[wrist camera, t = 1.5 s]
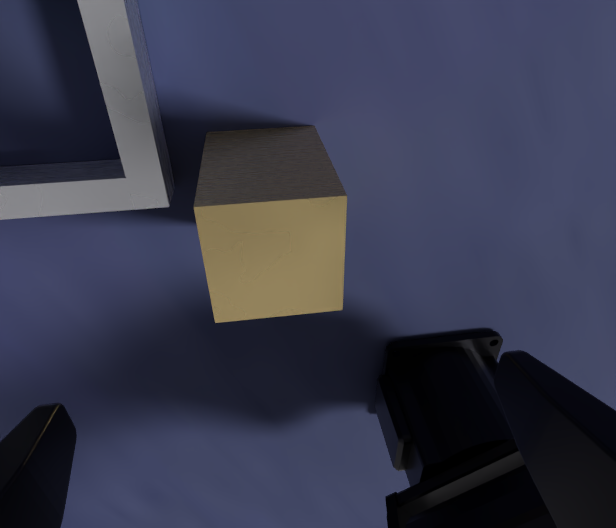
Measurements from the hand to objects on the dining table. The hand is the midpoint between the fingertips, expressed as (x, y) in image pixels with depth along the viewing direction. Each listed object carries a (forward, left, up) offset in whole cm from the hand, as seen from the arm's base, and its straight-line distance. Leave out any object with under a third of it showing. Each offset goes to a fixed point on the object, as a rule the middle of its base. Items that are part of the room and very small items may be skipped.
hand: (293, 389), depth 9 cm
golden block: (0, 0, -10) cm, 10 cm away
